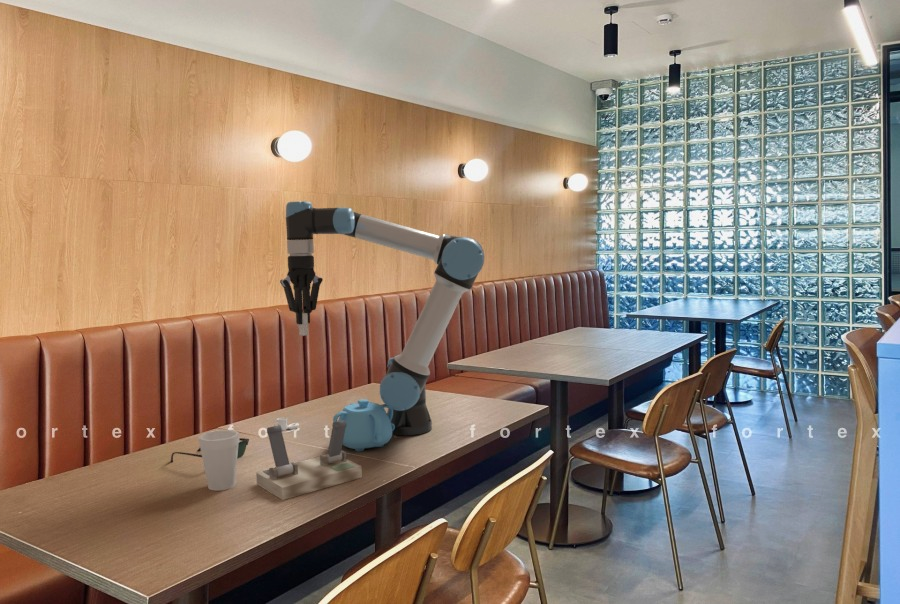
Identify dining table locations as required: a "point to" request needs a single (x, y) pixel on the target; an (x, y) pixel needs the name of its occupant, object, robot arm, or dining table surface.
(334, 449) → the lever
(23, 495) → the dining table surface
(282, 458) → the lever
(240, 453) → the sunglasses
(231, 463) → the foam cup
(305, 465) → the switch base
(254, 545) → the dining table surface
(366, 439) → the decorative pot
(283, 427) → the teacup and saucer
